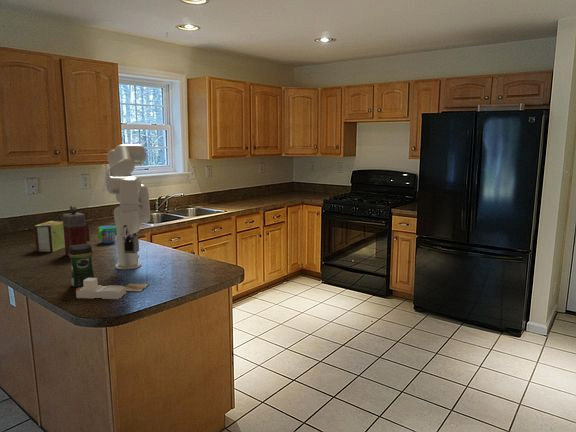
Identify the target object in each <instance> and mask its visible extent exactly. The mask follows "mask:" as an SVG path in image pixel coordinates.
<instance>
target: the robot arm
mask: <svg viewBox="0 0 576 432" xmlns="http://www.w3.org/2000/svg"><path fill="white" fill-rule="evenodd" d="M146 160H147V151H146V149H145V147H144V146H143V145H142V144H140V143H139V144H134V143H133V144H131V143H129V144H128V143H127V144H124V143H123V144H118V145H116V146H115V147H114V149H110V150H109V151H107V162H108V165H109V168H108V169H107V171H106V172H105V185H106V186H105V187H106V191H107V192H108V193H109V194H111V195H115V199H116V202H118V203H119V206H116V208H114V210H113V219H114V223H115V226H116V231H117V235H116V241H117V242H116V247H117V259H118V260H117V263H116V264H115V265H114V266H115V269H117V270H125V271H126V270H134V269H138V268H140V267H142V262H140V261H139V258H140V255H139V254H138V252H139V251H138V252H136V253H125V252H124V242H125V251H133V242H132V235H138V234H139V231H140V228H141V227H140V224H147V223H149V222H150V221H151V206H150V194H149V189H148V187H147V186H146V185H145V184H142V181H141V180H140V178H139V177H137V176H134V175H132V173H133V172H134V170H135V169H136V168H135V167H140V166H143V165H144V164H145V162H146ZM127 236H129V237H127ZM138 236H139V235H138Z"/></svg>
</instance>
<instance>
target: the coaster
mask: <svg viewBox="0 0 576 432" xmlns="http://www.w3.org/2000/svg"><path fill="white" fill-rule="evenodd" d="M148 285H149V283H128V284H127V285H125V286H124V287H126V291H142V290H143V289H144V288H145V287H146V286H148ZM148 287H149V286H148ZM146 288H147V287H146ZM146 288H145V289H146ZM145 289H144V290H145ZM144 290H143V291H144ZM143 291H142V292H143Z"/></svg>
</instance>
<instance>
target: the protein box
mask: <svg viewBox="0 0 576 432" xmlns="http://www.w3.org/2000/svg"><path fill="white" fill-rule="evenodd" d="M33 227H34V229H33V230H34V234H35V235H34V237H35V247H36V252H38V253H40V252H42V253H54V252H56V251H58V250H62V249H65V241H64V228H63V220H60V221H59V220H50V221H49V220H48V221H46V222H43V223H39V224H36V225H34V226H33Z"/></svg>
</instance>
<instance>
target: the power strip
mask: <svg viewBox="0 0 576 432" xmlns="http://www.w3.org/2000/svg"><path fill="white" fill-rule="evenodd" d="M124 294H125V295H127V292H126V287H125V286H123V285H101V284H98V277H95V278H87V279H85V280H83V287H76V288H75V295H76V299H94V298H102V299H101V300H120V299H121V298H123V297H124V296H125V295H124ZM123 295H124V296H123ZM122 296H123V297H122ZM119 298H120V299H119Z"/></svg>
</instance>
